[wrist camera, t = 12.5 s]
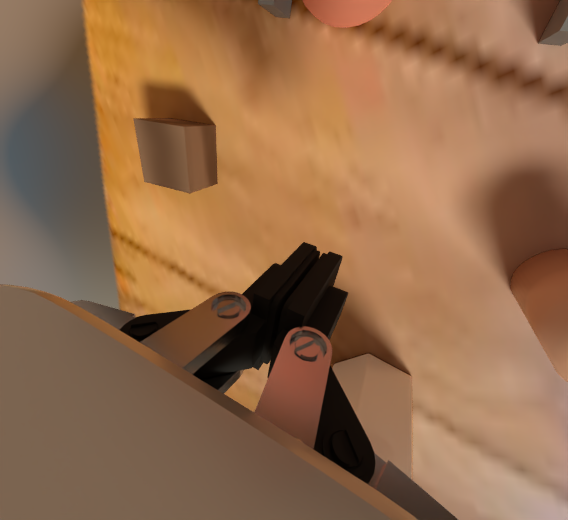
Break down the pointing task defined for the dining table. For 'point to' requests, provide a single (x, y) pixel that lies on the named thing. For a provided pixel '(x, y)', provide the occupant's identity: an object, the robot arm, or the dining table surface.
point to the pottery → (345, 11)
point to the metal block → (177, 153)
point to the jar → (381, 406)
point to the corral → (559, 31)
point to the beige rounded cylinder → (546, 302)
